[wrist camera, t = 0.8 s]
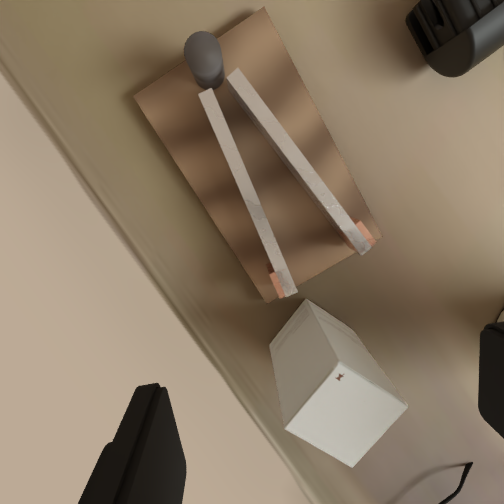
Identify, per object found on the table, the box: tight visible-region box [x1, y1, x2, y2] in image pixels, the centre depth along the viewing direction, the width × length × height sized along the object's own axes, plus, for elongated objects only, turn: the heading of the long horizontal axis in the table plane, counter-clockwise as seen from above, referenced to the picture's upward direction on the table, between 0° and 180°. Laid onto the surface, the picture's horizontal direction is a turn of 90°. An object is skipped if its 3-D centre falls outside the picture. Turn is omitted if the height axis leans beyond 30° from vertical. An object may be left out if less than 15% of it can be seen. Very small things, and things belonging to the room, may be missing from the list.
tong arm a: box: [227, 68, 377, 255], centre depth 29 cm, size 19×2×4 cm, turn 39°
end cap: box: [406, 0, 504, 77], centre depth 26 cm, size 10×7×7 cm
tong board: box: [133, 7, 383, 304], centre depth 29 cm, size 24×14×6 cm, turn 31°
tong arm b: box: [198, 88, 298, 298], centre depth 29 cm, size 19×2×4 cm, turn 23°
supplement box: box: [269, 299, 408, 467], centre depth 31 cm, size 7×7×13 cm
